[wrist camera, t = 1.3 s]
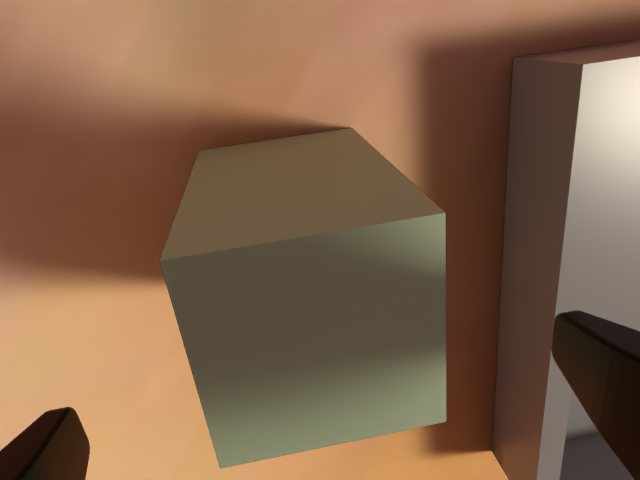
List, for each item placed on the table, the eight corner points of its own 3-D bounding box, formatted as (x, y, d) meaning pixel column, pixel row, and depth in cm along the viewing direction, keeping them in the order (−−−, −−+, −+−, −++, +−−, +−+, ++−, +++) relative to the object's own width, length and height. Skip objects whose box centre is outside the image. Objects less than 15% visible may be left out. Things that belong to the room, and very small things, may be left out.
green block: (363, 261, 18) (446, 421, 10) (229, 284, 17) (219, 468, 10) (351, 127, 16) (445, 212, 8) (199, 150, 15) (158, 260, 8)
